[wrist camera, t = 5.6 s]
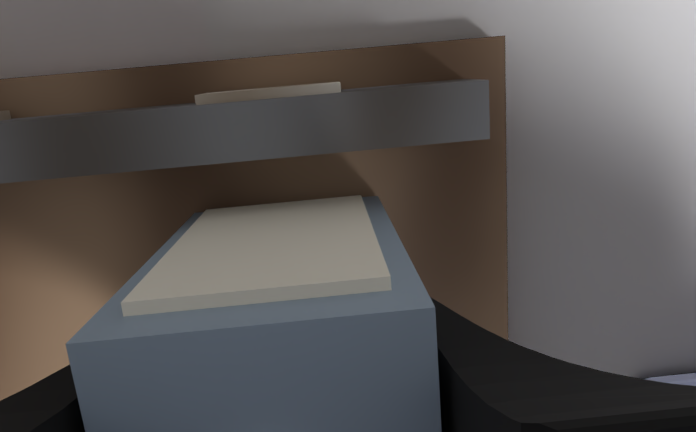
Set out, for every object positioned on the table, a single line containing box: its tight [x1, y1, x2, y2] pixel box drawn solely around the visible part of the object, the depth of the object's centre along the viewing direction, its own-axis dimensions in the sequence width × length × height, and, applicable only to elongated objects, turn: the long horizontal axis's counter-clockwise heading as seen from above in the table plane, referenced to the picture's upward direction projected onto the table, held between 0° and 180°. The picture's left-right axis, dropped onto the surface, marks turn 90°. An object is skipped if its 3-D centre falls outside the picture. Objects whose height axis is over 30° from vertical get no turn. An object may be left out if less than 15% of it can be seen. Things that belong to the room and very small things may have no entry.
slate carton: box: [66, 195, 442, 432], centre depth 11 cm, size 5×4×7 cm
